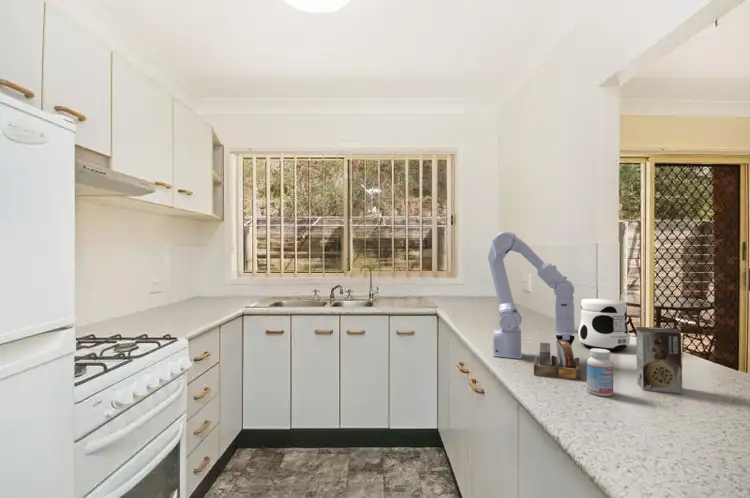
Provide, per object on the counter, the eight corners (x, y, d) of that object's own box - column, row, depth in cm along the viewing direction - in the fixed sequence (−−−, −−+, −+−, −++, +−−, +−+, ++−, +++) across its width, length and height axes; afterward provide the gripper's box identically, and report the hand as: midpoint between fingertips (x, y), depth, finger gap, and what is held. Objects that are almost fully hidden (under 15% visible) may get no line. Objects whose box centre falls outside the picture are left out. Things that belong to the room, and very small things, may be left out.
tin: (575, 375, 123) (575, 347, 123) (563, 375, 124) (563, 347, 124) (565, 361, 138) (565, 336, 138) (555, 361, 139) (555, 336, 138)
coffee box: (673, 386, 114) (673, 327, 114) (682, 394, 107) (682, 332, 108) (635, 383, 117) (635, 326, 117) (642, 390, 110) (642, 330, 110)
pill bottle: (603, 398, 105) (603, 354, 105) (582, 391, 110) (581, 349, 110) (618, 394, 107) (618, 351, 107) (596, 387, 113) (596, 346, 113)
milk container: (582, 340, 171) (582, 297, 171) (631, 346, 160) (631, 300, 160) (574, 349, 156) (574, 301, 157) (627, 355, 146) (627, 305, 146)
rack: (533, 375, 124) (533, 352, 124) (535, 362, 138) (535, 341, 138) (582, 380, 119) (582, 356, 119) (579, 366, 133) (578, 344, 133)
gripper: (579, 320, 130) (580, 363, 130) (576, 314, 144) (577, 353, 144) (555, 319, 133) (556, 361, 133) (554, 313, 146) (555, 351, 146)
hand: (565, 357), depth 138 cm, fingers closed, pressing on tin
